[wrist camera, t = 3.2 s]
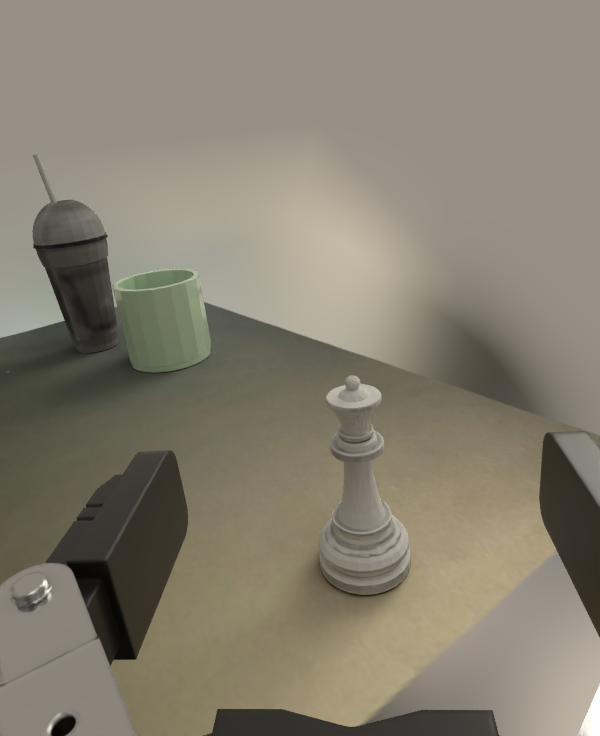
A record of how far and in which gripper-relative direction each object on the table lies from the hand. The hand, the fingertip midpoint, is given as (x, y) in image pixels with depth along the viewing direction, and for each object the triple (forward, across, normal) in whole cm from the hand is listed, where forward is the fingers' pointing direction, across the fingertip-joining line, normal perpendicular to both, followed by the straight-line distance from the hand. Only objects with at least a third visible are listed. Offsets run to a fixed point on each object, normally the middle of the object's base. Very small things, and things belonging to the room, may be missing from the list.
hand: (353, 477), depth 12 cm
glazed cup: (+41, +19, +12) cm, 47 cm away
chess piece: (+11, 0, +13) cm, 17 cm away
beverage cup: (+46, +29, +12) cm, 55 cm away
